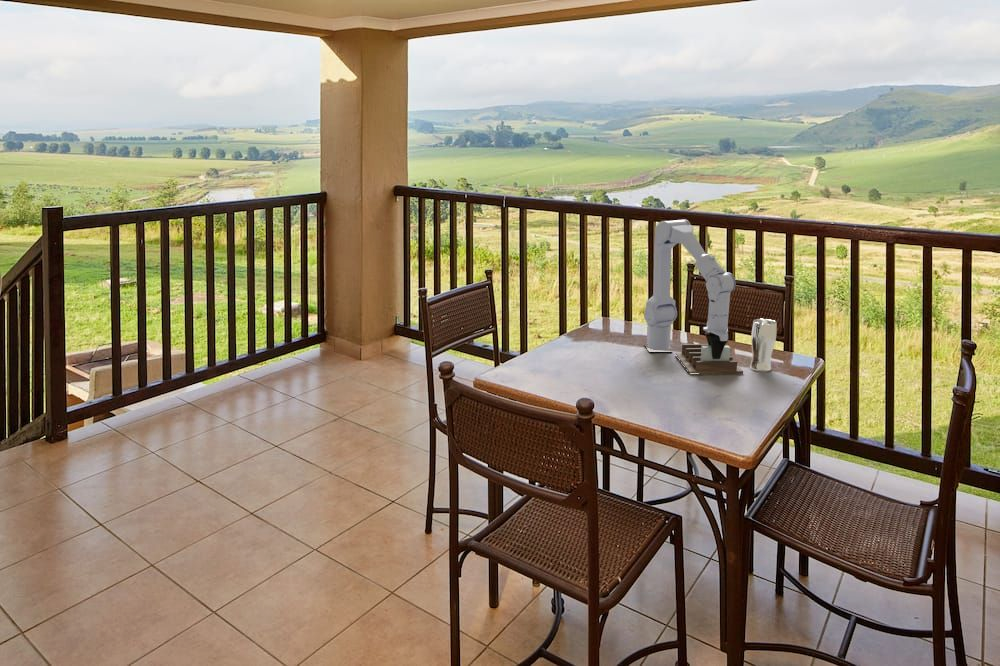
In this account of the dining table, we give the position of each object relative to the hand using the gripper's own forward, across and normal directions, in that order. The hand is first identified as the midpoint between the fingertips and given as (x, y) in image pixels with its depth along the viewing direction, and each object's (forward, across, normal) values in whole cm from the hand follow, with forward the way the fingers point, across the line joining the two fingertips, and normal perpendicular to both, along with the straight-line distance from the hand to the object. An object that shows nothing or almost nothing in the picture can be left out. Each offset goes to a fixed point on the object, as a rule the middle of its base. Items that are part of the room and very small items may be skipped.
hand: (714, 357), depth 196 cm
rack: (+5, -6, 0) cm, 8 cm away
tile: (+4, 0, 0) cm, 4 cm away
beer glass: (+5, -2, +15) cm, 16 cm away
